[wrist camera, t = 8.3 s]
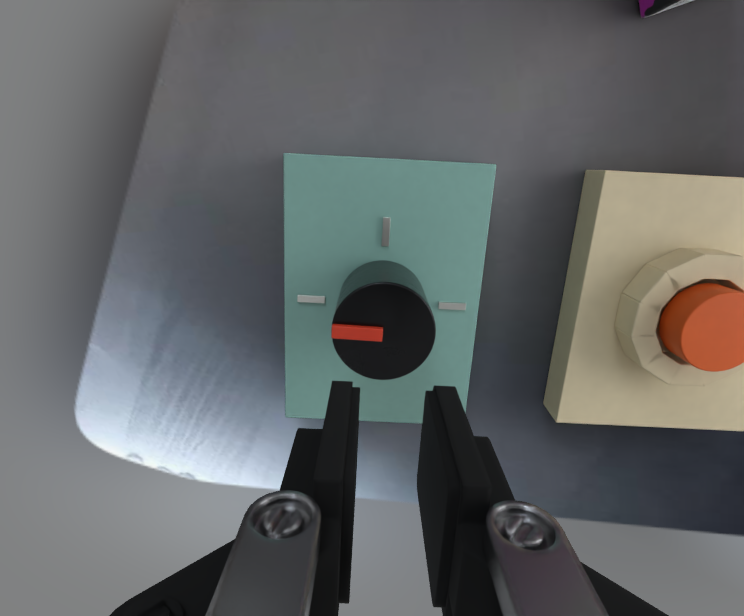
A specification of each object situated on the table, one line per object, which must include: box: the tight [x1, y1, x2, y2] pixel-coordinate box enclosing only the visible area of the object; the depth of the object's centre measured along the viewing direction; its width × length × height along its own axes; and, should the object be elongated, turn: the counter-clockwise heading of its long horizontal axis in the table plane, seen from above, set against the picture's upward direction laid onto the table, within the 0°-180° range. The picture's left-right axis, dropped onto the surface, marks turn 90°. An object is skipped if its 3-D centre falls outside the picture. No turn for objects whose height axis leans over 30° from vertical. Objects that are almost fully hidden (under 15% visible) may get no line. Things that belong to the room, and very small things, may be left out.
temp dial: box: [331, 260, 436, 380], centre depth 21 cm, size 4×4×5 cm
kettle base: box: [543, 170, 744, 431], centre depth 25 cm, size 14×11×4 cm
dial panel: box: [283, 153, 496, 424], centre depth 25 cm, size 14×10×3 cm
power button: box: [659, 283, 744, 372], centre depth 22 cm, size 4×4×2 cm
